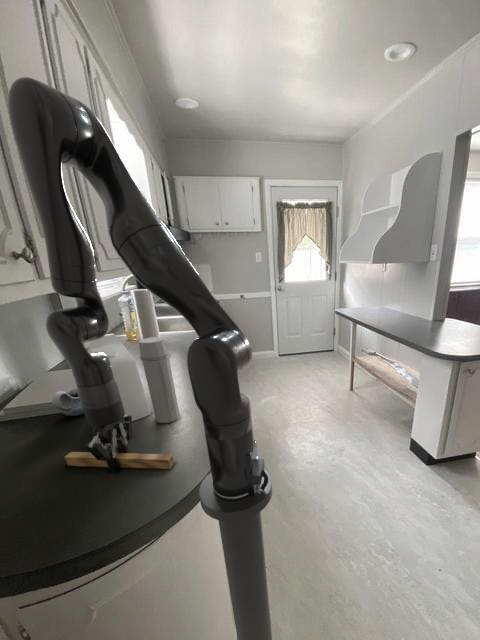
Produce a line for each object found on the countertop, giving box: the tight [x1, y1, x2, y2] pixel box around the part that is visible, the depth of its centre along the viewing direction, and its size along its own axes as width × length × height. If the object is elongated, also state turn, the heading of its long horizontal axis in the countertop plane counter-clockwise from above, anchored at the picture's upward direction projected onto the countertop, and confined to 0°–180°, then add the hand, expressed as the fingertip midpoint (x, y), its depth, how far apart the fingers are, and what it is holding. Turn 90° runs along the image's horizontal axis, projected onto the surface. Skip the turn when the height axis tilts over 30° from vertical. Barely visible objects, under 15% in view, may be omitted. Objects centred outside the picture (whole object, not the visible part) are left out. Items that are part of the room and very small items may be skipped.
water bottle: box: [138, 336, 181, 424], centre depth 88 cm, size 9×8×25 cm
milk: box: [87, 333, 152, 422], centre depth 91 cm, size 12×12×26 cm
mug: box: [51, 388, 85, 417], centre depth 96 cm, size 10×12×10 cm
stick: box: [64, 451, 175, 470], centre depth 73 cm, size 26×2×3 cm, turn 85°
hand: (120, 464), depth 73 cm, fingers open, 3 cm apart
